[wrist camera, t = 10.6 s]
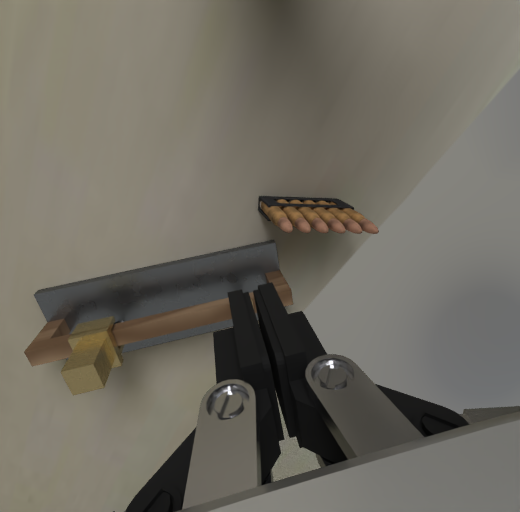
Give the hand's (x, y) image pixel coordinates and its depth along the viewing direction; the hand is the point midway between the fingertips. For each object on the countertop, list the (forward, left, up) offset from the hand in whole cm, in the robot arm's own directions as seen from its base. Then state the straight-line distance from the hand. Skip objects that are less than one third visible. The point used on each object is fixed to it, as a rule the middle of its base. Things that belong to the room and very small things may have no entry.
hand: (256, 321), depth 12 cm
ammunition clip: (+4, +10, -29) cm, 31 cm away
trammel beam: (+14, -9, -28) cm, 33 cm away
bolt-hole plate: (+13, -9, -29) cm, 33 cm away
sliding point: (+14, -17, -28) cm, 35 cm away
